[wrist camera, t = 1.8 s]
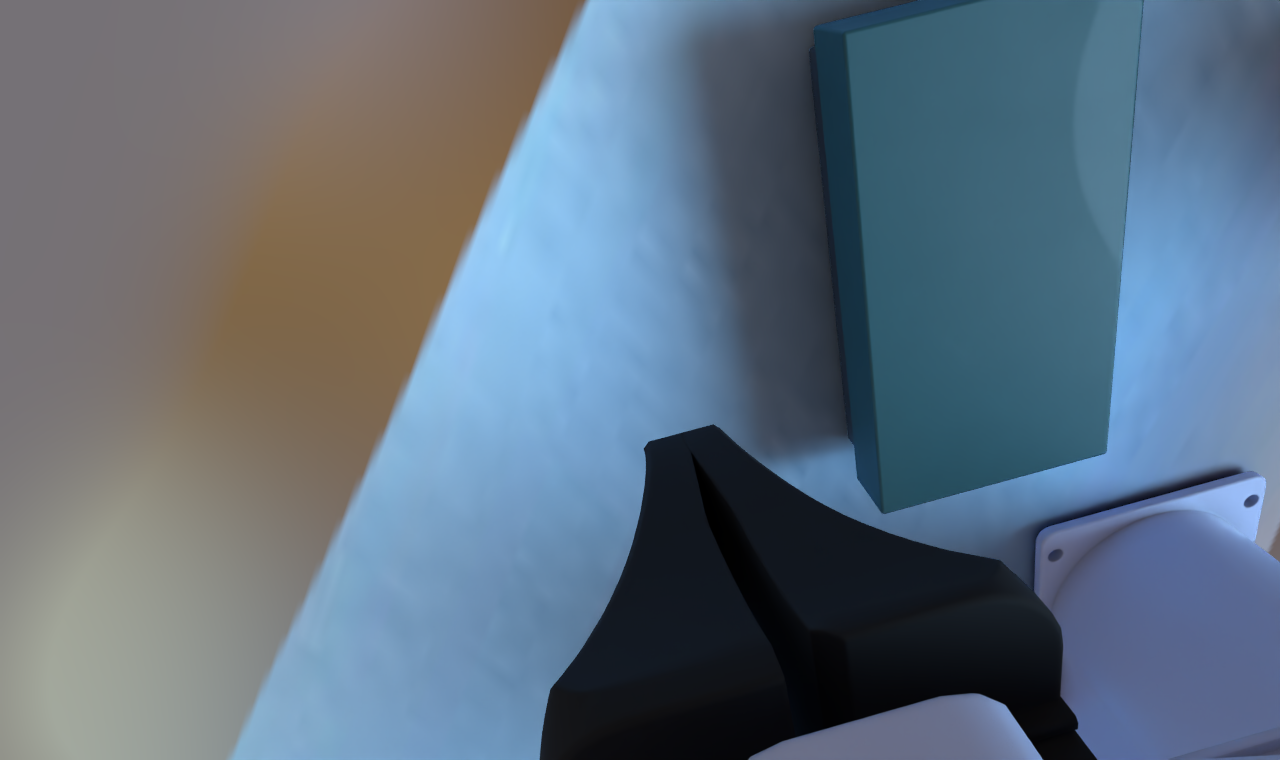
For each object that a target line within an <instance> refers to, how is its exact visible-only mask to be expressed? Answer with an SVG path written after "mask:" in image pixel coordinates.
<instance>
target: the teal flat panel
mask: <svg viewBox="0 0 1280 760" xmlns="http://www.w3.org/2000/svg"><path fill="white" fill-rule="evenodd" d="M1143 2H1144V0H918V1H914V2H910V3H906V4H902V5H898V6H894V7H890V8H886V9H882V10H878V11H874V12H870V13H865V14H861V15H857V16H853V17H849V18H845V19H841V20H837V21H833V22H829V23H825V24H821V25H817V26H816V27H814V40H815V46H814V47H812V48H810V50H809V57H810V66H811V76H812V86H813V96H814V106H815V116H816V126H817V136H818V145H819V155H820V165H821V175H822V185H823V195H824V205H825V214H826V224H827V234H828V244H829V254H830V264H831V274H832V283H833V293H834V303H835V313H836V323H837V333H838V343H839V352H840V362H841V372H842V382H843V392H844V402H845V412H846V422H847V431H848V438H849V440H850V441H851V442H852V444H853V445H854V450H855V460H856V470H857V479H858V480H859V481H860V483H861V484H862V486H863V487H864V489H865V490H866V491H867V493H868V494H869V496H870V497H871V499H872V500H873V501H874V503H875V504H876V506H877V507H878V508H879V510H880V511H881V513H883V514H886V513H890V512H893V511H897V510H901V509H904V508H908V507H912V506H915V505H919V504H923V503H926V502H930V501H934V500H937V499H941V498H944V497H948V496H952V495H955V494H959V493H963V492H966V491H970V490H974V489H977V488H981V487H985V486H988V485H992V484H996V483H999V482H1003V481H1007V480H1010V479H1014V478H1018V477H1021V476H1025V475H1029V474H1032V473H1036V472H1040V471H1043V470H1047V469H1051V468H1054V467H1058V466H1062V465H1065V464H1069V463H1073V462H1076V461H1080V460H1084V459H1087V458H1091V457H1095V456H1098V455H1102V454H1105V453H1106V452H1107V440H1108V428H1109V416H1110V404H1111V391H1112V379H1113V367H1114V355H1115V343H1116V331H1117V318H1118V306H1119V294H1120V282H1121V270H1122V258H1123V245H1124V233H1125V221H1126V209H1127V197H1128V185H1129V173H1130V160H1131V148H1132V136H1133V124H1134V112H1135V100H1136V87H1137V75H1138V63H1139V51H1140V39H1141V27H1142V14H1143Z"/></svg>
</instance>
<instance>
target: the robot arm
mask: <svg viewBox="0 0 1280 760" xmlns="http://www.w3.org/2000/svg"><path fill="white" fill-rule="evenodd" d="M644 451H645V456H646V477H645V487H644V494H643V500H642V506H641V512H640V516H639V520H638V524H637V528H636V532H635V536H634V540H633V543H632V547H631V550H630V553H629V556H628V559H627V562H626V564H625V567H624V570H623V572H622V575H621V577H620V580H619V582H618V584H617V586H616V588H615V591H614V593H613V595H612V597H611V599H610V601H609V603H608V605H607V607H606V609H605V611H604V613H603V615H602V617H601V618H600V620H599V622H598V623H597V625H596V627H595V628H594V630H593V631H592V633H591V635H590V636H589V638H588V640H587V641H586V643H585V645H584V646H583V648H582V649H581V651H580V652H579V654H578V655H577V656H576V658H575V659H574V660H573V662H572V663H571V664H570V665H569V667H568V668H567V669H566V671H565V672H564V673H563V674H562V676H561V677H560V678H559V680H558V681H557V682H556V683H555V684H554V685H553V686H552V688H551V689H550V694H549V698H548V703H547V708H546V713H545V718H544V725H543V731H542V739H541V751H540V760H1280V562H1279V561H1277V560H1276V559H1275V558H1273V557H1272V556H1271V555H1270V554H1268V553H1267V552H1266V551H1264V550H1263V549H1262V548H1261V547H1259V546H1258V545H1257V544H1255V538H1256V533H1257V528H1258V523H1259V518H1260V513H1261V508H1262V503H1263V498H1264V493H1265V488H1266V480H1265V478H1264V477H1262V476H1261V475H1259V474H1258V473H1256V472H1254V471H1249V472H1244V473H1240V474H1237V475H1233V476H1230V477H1226V478H1222V479H1219V480H1215V481H1211V482H1208V483H1204V484H1201V485H1197V486H1193V487H1190V488H1186V489H1183V490H1179V491H1175V492H1172V493H1168V494H1164V495H1161V496H1157V497H1154V498H1150V499H1146V500H1143V501H1139V502H1135V503H1132V504H1128V505H1125V506H1121V507H1117V508H1114V509H1110V510H1107V511H1103V512H1099V513H1096V514H1092V515H1088V516H1085V517H1081V518H1078V519H1074V520H1070V521H1067V522H1063V523H1060V524H1056V525H1052V526H1049V527H1047V528H1044V529H1043V530H1042V531H1041V532H1040V533H1039V534H1038V536H1037V539H1036V550H1035V580H1034V592H1033V591H1032V590H1031V589H1030V588H1029V587H1028V586H1027V585H1026V584H1025V583H1024V582H1023V581H1022V580H1021V579H1020V578H1019V577H1018V576H1017V575H1016V574H1014V573H1013V572H1012V571H1011V570H1010V569H1009V568H1008V567H1007V566H1006V565H1005V564H1004V563H1003V562H1002V561H1000V560H996V559H991V558H986V557H980V556H975V555H970V554H965V553H960V552H954V551H949V550H945V549H941V548H937V547H933V546H930V545H926V544H922V543H919V542H915V541H912V540H908V539H905V538H902V537H899V536H896V535H893V534H890V533H887V532H885V531H882V530H879V529H877V528H874V527H872V526H869V525H866V524H864V523H861V522H859V521H857V520H854V519H852V518H850V517H847V516H845V515H843V514H841V513H839V512H837V511H835V510H833V509H831V508H829V507H827V506H825V505H823V504H822V503H820V502H818V501H816V500H815V499H813V498H811V497H809V496H808V495H806V494H805V493H803V492H801V491H800V490H798V489H797V488H795V487H793V486H792V485H790V484H789V483H787V482H786V481H785V480H783V479H782V478H780V477H779V476H777V475H776V474H775V473H773V472H772V471H771V470H769V469H768V468H766V467H765V466H764V465H762V464H761V463H760V462H758V461H757V460H756V459H755V458H753V457H752V456H751V455H750V454H748V453H747V452H746V451H745V450H744V449H742V448H741V447H740V446H739V445H738V444H736V443H735V442H734V441H733V440H732V439H731V438H730V437H729V436H728V435H727V434H725V433H724V432H723V431H722V430H721V429H720V428H719V427H717V426H715V425H714V424H713V425H710V426H706V427H702V428H698V429H695V430H691V431H687V432H683V433H680V434H676V435H672V436H668V437H665V438H661V439H657V440H653V441H650V442H648V443H647V445H646V446H645V448H644ZM1052 551H1053V552H1052Z"/></svg>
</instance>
